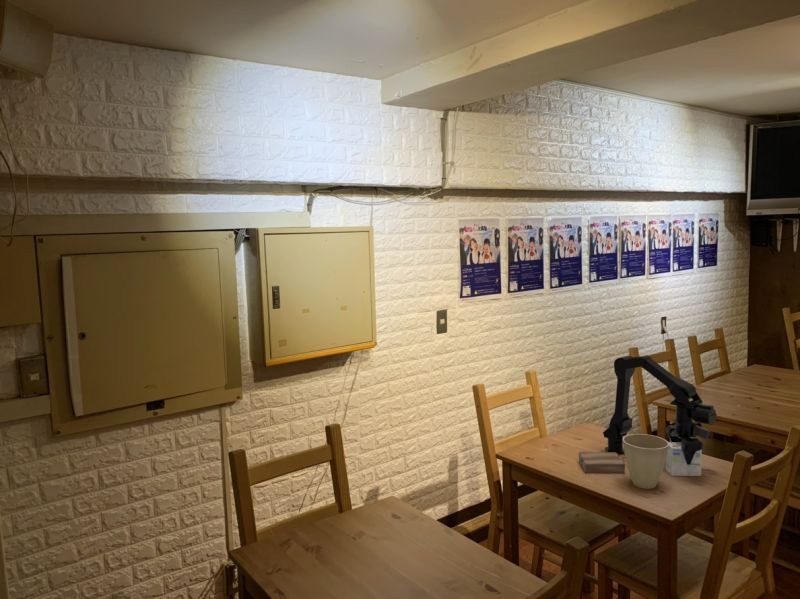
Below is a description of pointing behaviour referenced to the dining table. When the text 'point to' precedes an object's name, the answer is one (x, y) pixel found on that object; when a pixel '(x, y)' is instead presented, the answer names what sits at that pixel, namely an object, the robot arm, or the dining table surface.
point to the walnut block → (601, 463)
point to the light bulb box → (682, 461)
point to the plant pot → (645, 458)
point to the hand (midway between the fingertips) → (683, 459)
